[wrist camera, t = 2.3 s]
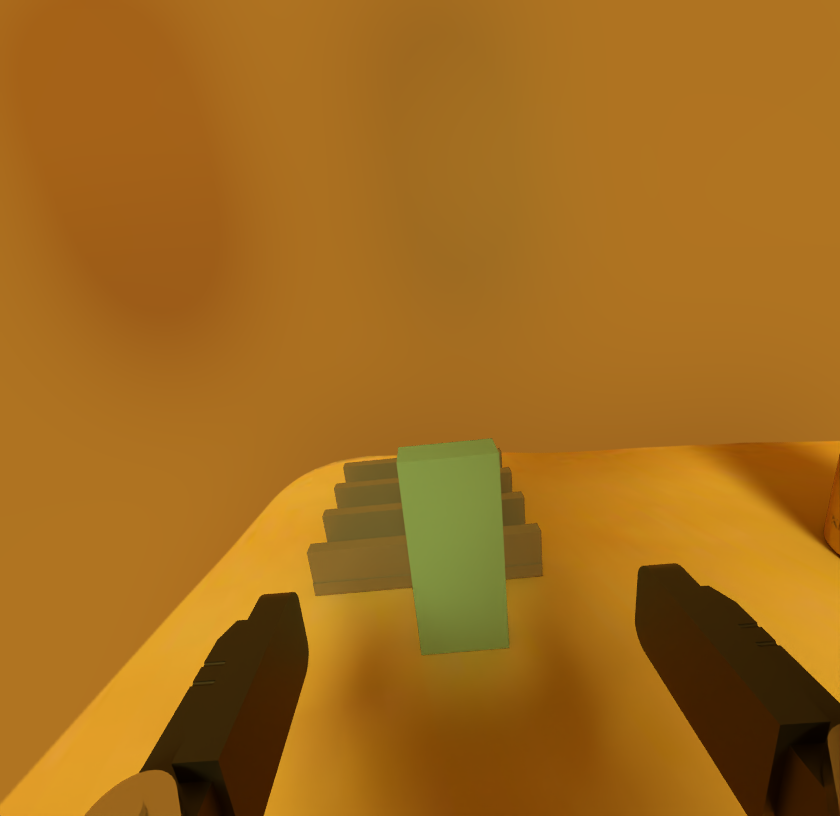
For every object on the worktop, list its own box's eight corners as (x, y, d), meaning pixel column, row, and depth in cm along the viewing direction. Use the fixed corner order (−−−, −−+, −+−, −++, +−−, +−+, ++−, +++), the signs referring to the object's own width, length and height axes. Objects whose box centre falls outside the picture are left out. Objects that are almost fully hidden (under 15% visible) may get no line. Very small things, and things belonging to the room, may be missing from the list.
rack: (500, 478, 42) (499, 447, 41) (542, 575, 28) (541, 532, 27) (350, 492, 43) (345, 462, 42) (315, 595, 29) (306, 553, 28)
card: (502, 619, 25) (491, 438, 21) (509, 647, 23) (499, 453, 20) (421, 626, 25) (398, 447, 22) (421, 655, 23) (396, 462, 20)
